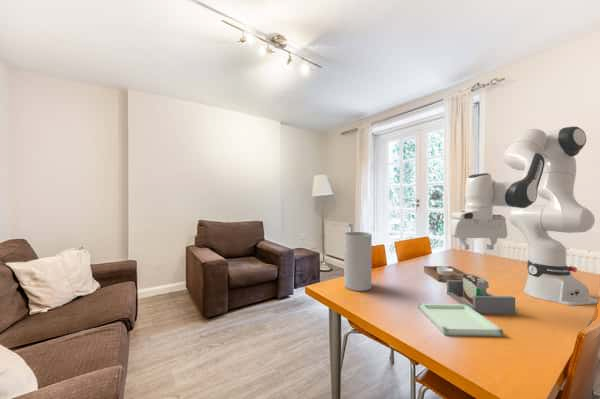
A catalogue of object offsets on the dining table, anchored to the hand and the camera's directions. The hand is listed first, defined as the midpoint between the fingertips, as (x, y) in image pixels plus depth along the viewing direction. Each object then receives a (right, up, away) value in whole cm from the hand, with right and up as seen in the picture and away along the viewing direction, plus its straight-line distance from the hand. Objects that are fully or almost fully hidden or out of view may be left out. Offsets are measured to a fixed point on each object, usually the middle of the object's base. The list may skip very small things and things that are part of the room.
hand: (477, 249), depth 93 cm
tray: (-17, -22, -13) cm, 31 cm away
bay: (0, -22, 0) cm, 22 cm away
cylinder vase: (-43, -22, +18) cm, 52 cm away
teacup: (+6, -22, +30) cm, 38 cm away
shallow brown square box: (+6, -21, +31) cm, 38 cm away
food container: (0, -22, 0) cm, 22 cm away
